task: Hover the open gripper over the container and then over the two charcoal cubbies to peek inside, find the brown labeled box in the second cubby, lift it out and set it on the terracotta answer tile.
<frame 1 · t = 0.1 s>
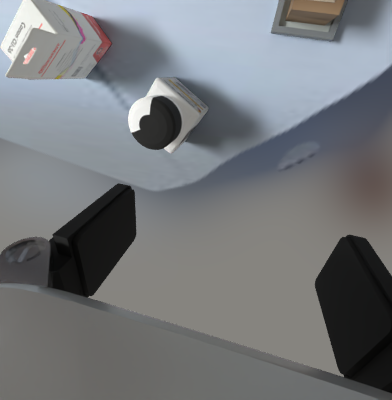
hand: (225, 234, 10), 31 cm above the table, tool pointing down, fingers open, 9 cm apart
ink cartridge box: (89, 49, 37), on the table
container: (179, 111, 38), on the table
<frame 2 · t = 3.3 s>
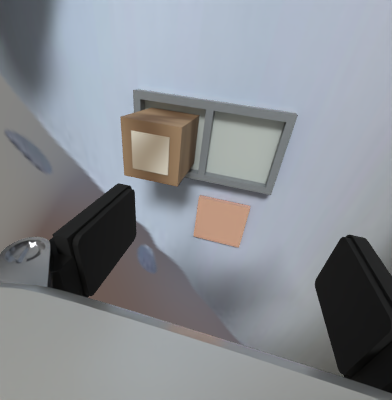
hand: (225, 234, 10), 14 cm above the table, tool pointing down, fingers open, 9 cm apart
brown labeled box: (173, 136, 23), resting on cubby strip
answer tile: (220, 220, 27), on the table
cubby strip: (207, 141, 23), on the table
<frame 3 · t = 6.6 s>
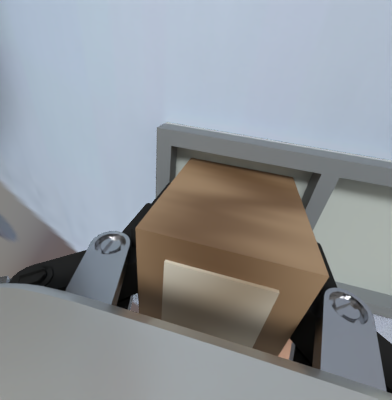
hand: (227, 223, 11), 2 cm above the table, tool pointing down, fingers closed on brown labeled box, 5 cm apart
brown labeled box: (230, 209, 12), resting on cubby strip, touching gripper
cubby strip: (297, 221, 12), on the table
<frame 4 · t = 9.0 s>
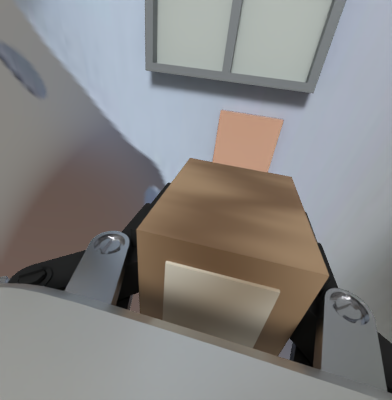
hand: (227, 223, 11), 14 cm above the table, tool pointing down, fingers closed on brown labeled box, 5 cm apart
brown labeled box: (229, 209, 12), point 13 cm above the table, touching gripper
answer tile: (244, 144, 23), on the table
cubby strip: (234, 27, 18), on the table
when the fingers open (3 cm above the table, at t = 11.4 s): brown labeled box stays where it is, resting on answer tile.
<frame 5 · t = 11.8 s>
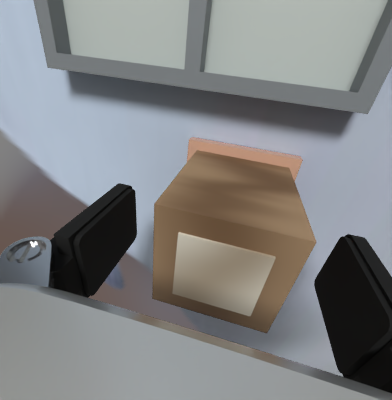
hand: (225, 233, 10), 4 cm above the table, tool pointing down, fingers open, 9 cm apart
brown labeled box: (232, 198, 13), point 1 cm above the table, touching answer tile
answer tile: (233, 193, 13), on the table
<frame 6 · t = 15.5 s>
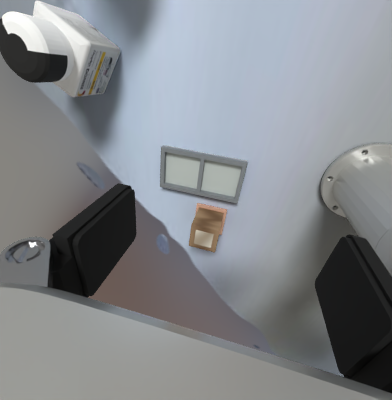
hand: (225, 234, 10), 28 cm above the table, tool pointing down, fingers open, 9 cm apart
brown labeled box: (209, 220, 44), point 1 cm above the table, touching answer tile
answer tile: (210, 218, 44), on the table
cubby strip: (201, 173, 40), on the table
container: (93, 57, 35), on the table
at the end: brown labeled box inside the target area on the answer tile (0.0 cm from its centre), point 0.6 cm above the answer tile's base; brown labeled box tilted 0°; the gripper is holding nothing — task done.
